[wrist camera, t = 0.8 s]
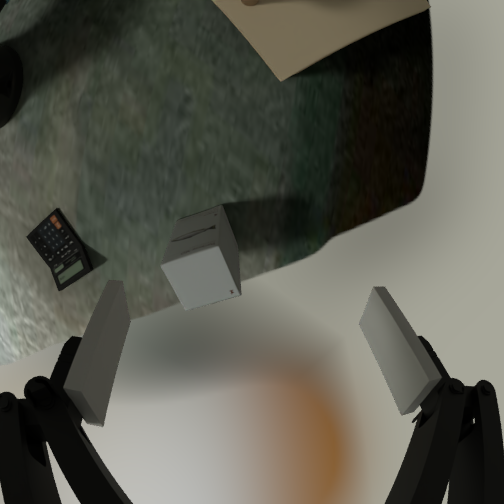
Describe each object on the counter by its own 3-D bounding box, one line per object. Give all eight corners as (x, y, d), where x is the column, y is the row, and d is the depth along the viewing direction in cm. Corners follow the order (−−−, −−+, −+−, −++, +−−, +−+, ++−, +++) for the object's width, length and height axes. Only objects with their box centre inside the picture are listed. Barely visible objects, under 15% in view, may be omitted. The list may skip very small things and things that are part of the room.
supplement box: (222, 202, 42) (221, 244, 31) (238, 246, 46) (243, 297, 35) (175, 218, 43) (158, 264, 32) (194, 259, 46) (185, 313, 36)
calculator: (57, 207, 40) (48, 215, 38) (98, 262, 46) (91, 271, 43) (28, 234, 42) (20, 242, 39) (66, 283, 47) (60, 292, 45)
